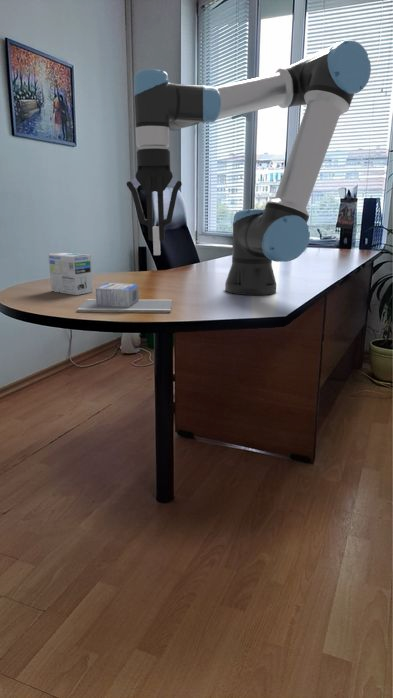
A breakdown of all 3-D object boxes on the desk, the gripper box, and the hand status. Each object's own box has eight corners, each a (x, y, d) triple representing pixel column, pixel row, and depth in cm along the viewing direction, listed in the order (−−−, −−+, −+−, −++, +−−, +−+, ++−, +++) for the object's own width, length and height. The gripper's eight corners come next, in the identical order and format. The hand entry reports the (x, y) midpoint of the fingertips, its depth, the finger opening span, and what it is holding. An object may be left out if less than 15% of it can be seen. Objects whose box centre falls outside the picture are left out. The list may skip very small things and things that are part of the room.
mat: (171, 302, 124) (171, 299, 124) (170, 312, 113) (170, 309, 113) (87, 301, 124) (87, 299, 124) (77, 312, 112) (77, 309, 112)
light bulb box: (94, 292, 137) (92, 254, 134) (76, 295, 132) (74, 256, 128) (67, 288, 142) (65, 251, 139) (50, 291, 137) (47, 253, 134)
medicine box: (129, 289, 114) (95, 287, 115) (129, 308, 115) (95, 305, 116) (138, 284, 121) (106, 282, 122) (139, 301, 122) (106, 299, 124)
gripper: (182, 150, 111) (184, 252, 119) (126, 150, 111) (131, 253, 118) (181, 146, 104) (184, 255, 111) (122, 147, 104) (128, 256, 111)
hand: (157, 254), depth 115 cm, fingers closed
